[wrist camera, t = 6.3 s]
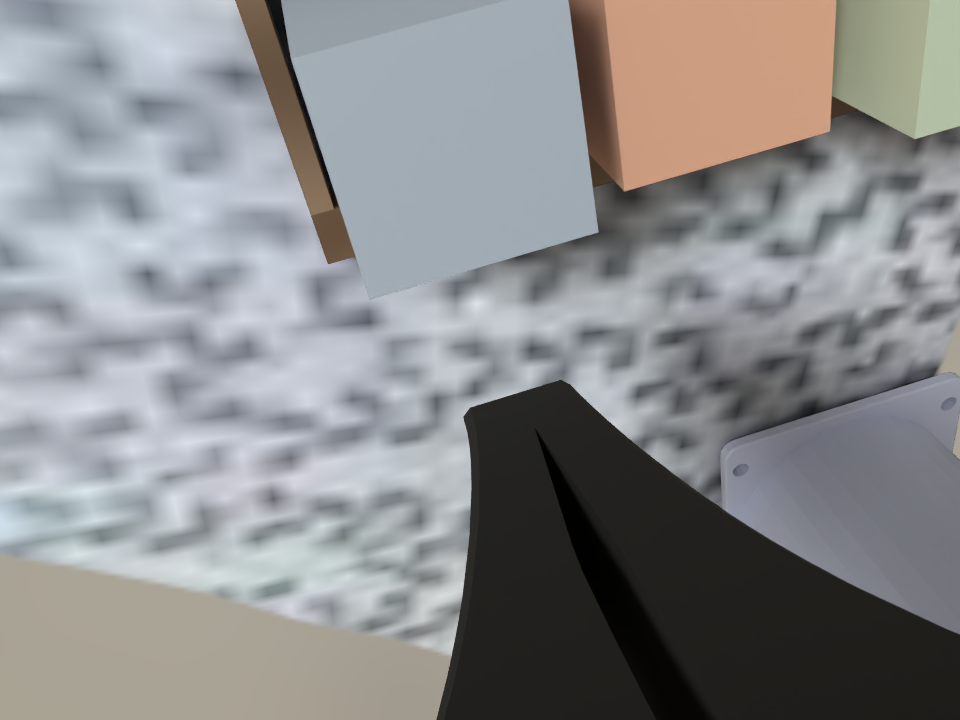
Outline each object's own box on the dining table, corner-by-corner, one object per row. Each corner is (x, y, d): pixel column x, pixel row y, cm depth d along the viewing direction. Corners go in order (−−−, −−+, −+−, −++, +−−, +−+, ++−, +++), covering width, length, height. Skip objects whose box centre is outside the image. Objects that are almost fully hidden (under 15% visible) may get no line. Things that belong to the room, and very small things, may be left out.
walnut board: (937, 63, 21) (971, 77, 20) (324, 240, 20) (328, 264, 19) (980, -294, 16) (1027, -299, 16) (207, -95, 15) (204, -87, 14)
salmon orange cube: (720, 67, 19) (829, 132, 16) (552, 115, 19) (624, 191, 15) (715, -133, 17) (841, -112, 13) (522, -82, 16) (599, -45, 13)
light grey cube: (527, 143, 18) (598, 232, 14) (344, 196, 18) (369, 299, 14) (492, -61, 16) (566, -16, 12) (280, -5, 15) (291, 58, 12)
